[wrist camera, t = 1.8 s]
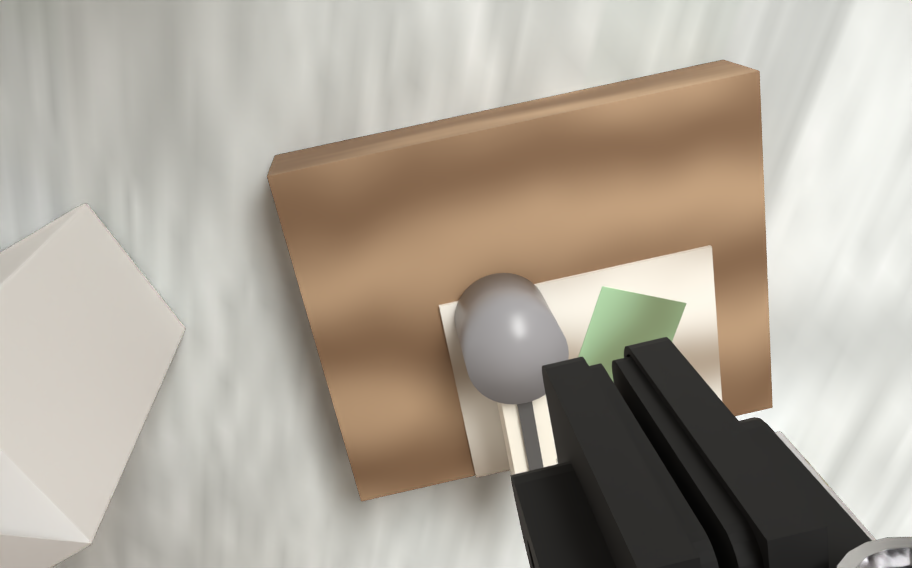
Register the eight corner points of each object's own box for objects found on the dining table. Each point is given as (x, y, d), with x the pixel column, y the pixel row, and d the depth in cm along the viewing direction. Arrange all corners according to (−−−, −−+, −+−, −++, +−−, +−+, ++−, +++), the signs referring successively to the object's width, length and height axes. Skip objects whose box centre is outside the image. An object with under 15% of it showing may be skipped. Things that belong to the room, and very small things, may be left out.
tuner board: (274, 155, 35) (266, 178, 32) (723, 59, 36) (762, 71, 32) (360, 458, 42) (361, 504, 38) (740, 372, 42) (774, 410, 39)
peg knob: (446, 284, 34) (457, 324, 31) (539, 263, 34) (561, 301, 31) (488, 485, 38) (503, 542, 35) (571, 466, 39) (594, 520, 35)
